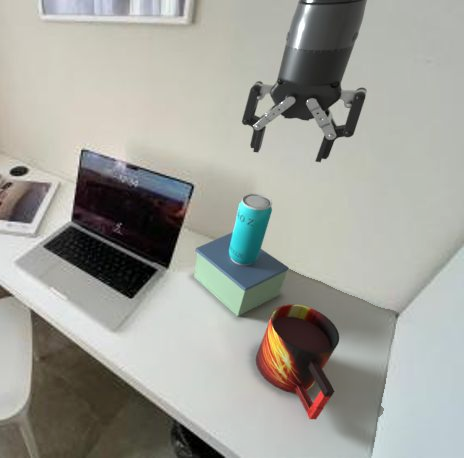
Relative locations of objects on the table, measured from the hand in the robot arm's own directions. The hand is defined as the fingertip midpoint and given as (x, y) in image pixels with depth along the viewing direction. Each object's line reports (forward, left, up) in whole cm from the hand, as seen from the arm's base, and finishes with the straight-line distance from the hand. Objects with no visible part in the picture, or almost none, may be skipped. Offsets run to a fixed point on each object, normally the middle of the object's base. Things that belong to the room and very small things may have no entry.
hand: (286, 154), depth 56 cm
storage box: (+3, -5, -36) cm, 37 cm away
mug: (-12, +12, -36) cm, 40 cm away
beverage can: (+3, -5, -28) cm, 28 cm away
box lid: (+3, -5, -28) cm, 29 cm away
